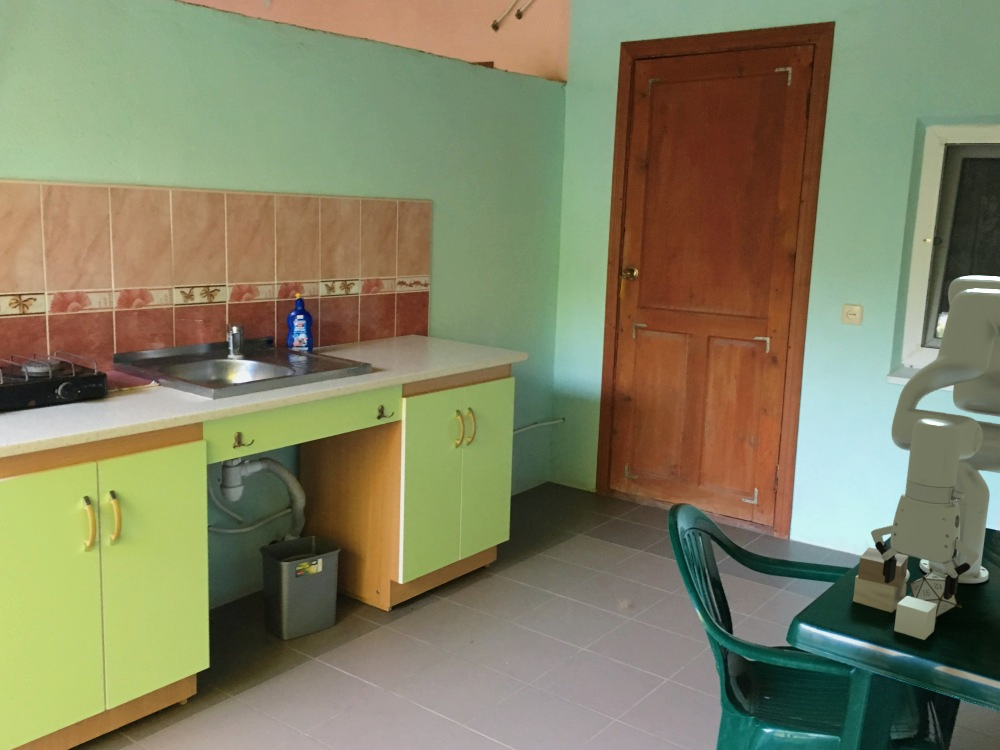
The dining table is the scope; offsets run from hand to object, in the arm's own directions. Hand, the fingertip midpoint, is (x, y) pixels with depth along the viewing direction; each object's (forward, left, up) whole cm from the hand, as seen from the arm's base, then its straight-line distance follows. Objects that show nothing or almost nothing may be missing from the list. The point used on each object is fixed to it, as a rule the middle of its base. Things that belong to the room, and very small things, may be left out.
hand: (918, 589), depth 159 cm
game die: (-10, 0, -8) cm, 12 cm away
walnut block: (-9, -9, -3) cm, 13 cm away
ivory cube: (-1, 0, -8) cm, 8 cm away
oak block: (-9, -9, -8) cm, 15 cm away
